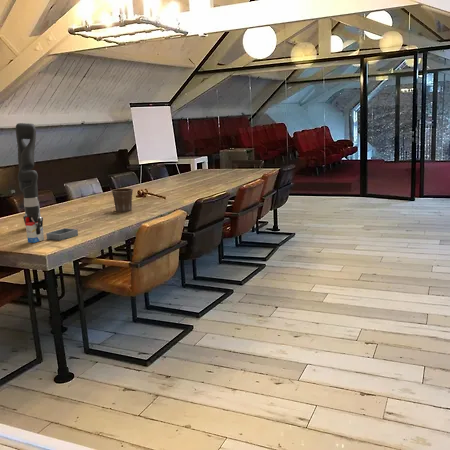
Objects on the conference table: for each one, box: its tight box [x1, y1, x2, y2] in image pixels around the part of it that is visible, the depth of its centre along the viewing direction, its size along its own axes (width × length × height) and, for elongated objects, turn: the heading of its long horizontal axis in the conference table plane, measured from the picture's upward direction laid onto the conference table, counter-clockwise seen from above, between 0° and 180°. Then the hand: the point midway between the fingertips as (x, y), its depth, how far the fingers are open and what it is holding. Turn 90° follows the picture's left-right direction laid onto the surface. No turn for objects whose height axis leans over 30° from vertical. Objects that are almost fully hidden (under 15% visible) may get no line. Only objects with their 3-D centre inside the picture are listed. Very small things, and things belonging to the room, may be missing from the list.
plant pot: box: [111, 187, 134, 213], centre depth 373 cm, size 16×16×16 cm
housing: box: [46, 227, 79, 242], centre depth 293 cm, size 11×15×4 cm
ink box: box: [24, 217, 45, 244], centre depth 283 cm, size 8×5×15 cm, turn 158°
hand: (34, 233), depth 284 cm, fingers closed on ink box, 5 cm apart
